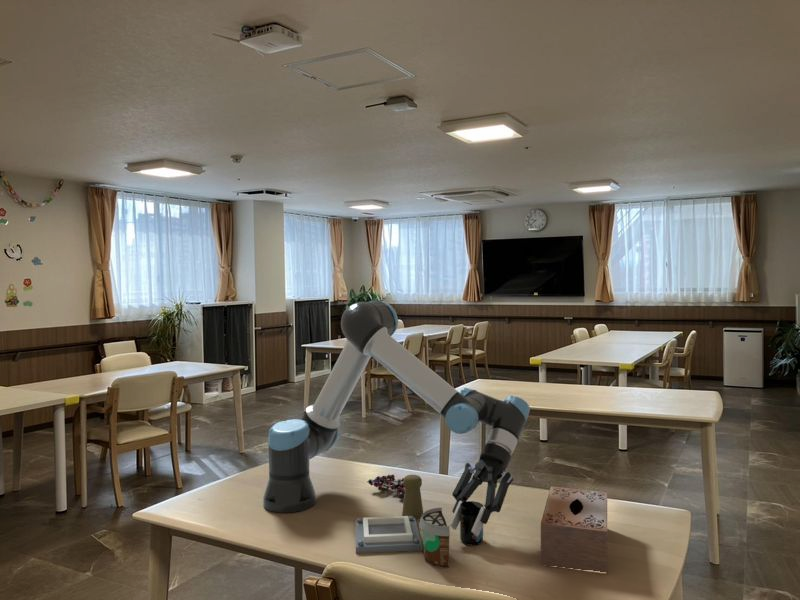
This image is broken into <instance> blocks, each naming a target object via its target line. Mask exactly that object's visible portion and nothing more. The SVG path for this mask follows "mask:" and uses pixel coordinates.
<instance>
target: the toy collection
mask: <svg viewBox="0 0 800 600" xmlns="http://www.w3.org/2000/svg"><path fill="white" fill-rule="evenodd" d="M404 478H405V477H403V478H399V479H396V476H395V474H387V475H382V476H381V475H378V476H376V477H375V478H374V479H369V480H368V481H366V483H368V485H371V486H374V487H375V488H377V489H378V491H381V490H383V491H387V492H388V491H392V492H396V493H397V497H396V498H397V499H400V500H402V499H404V495H405V487H404V484H403V480H404Z"/></svg>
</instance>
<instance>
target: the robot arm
mask: <svg viewBox="0 0 800 600" xmlns="http://www.w3.org/2000/svg"><path fill="white" fill-rule="evenodd" d="M398 325H399V318H398V313H397V311H396V309H395V308H394V307H393V306H392V305H391V304H390V303H388V302H386V301H383V300H377V299H376V300H375V299H374V300H370V301H361V302H355V303H353V304H351V305H349V306H348V307H347V308H346V309H345V310H344V312H343V313H342V316H341V320H340V328H341V332H342V334H343V336H344V338H345V339H346V343H345V345H344V346H343V348H342V350H341V352H340V354H339V356H338V358H337V360H336V362H335V363H334V365H333V368H332V370H331V371H330V373H329V375H328V378H327V379H326V381H325V383H324V385H323V387H322V388H321V390H320V393H319V395H318V396H317V398H316V400H315V402H314V404H311V405H308V406H307V407H306V408H305V411H304V412H303V414H302V416H301V417H300V418H301V419H297V418H296V419H294V418H293V419H287V420H282V421H279V422H276V423H275V424H273V425H272V426H271V427H270V428H269V431H268V438H267V444H268V481H267V484H266V487H265V492H264V495H263V503H262V504H263V508H264V509H266V510H267V511H270V512H273V513H283V514H285V513H287V514H288V513H297V512H301V511H305V510H307V509H310V508H312V507H313V506H315V504H316V501H317V495H316V491H315V488H314V484H313V482H312V480H311V476H310V460H312V459H313V458H315V457H317V456H318V455H319V456H320V454H323V453H326V452H327V451H328V450H330V449H331V448H332V447H333V446H334V445H335V444H336V443H337V440H338V437H339V428H340V425H341V420H340V415H341V414H342V411H343V409H344V408H345V407H346V404H347V402H348V400H349V399H350V397H351V395H352V393H353V391H354V389H355V388H356V386H357V383H358V382H359V380H360V378H361V376H362V374H363V373H364V371H365V368H366V367H367V365H368V363H369V361H370V359H371V358H373V359H374V360H375V361H377V362H378V363H379V364H380V365H382V366H383V368H385V369H387V371H388V372H389V373H391V374H392V375H393V376H395V378H397V379H398V380H399V381H400V382H402V383H403V384H404V385H405V386H406V387H407V388H408V389H410V390H412V392H414V393H415V394H416V395H418V397H420V398H421V399H422V400H423V401H424V402H425V403H427V404H428V405H429V406H430V407H432V408H433V409H434V410H435V411H437V412H438V413H439V414H440V415H441V416H442V417H443V418H444V419H445V423H446V425H447V427H448V429H449V430H450V431H451V432H452V433H455V434H456V435H457V434H459V435H464V434H467V433H469V432H471V431H472V430H473V429H475V428H476V427H477V425H479V424H480V423H482V424H485V425H487V426H490V427H492V428H491V430H490V432H489V433H488V437H487V439H486V441H485V444H484V445H483V448H482V450H481V452H480V453H479V454H480V455H479V460H478V461H477V462H475V463H474V464H470V462H467V463H465V464H464V470H463V472H462V475H461V476H460V478H459V480H458V482H457V484H456V486H455V488H454V490H453V491H452V494H451V495H452V497H453V498H454V499H455V501H456V502H455V504H454V506H453V508H452V513H453V514H452V516H451V519H450V521H449V523H448V524H449V525H448V526H449V527H451V528H452V529H453V530H455V531H456V530H457V529H458V526H459V525H460V504H461V503H463V502H467V501H469V498H471V496H472V495H473V494H474V493H475V491H476V490H477V488H478V487H479V486H481V485H482V484H483V483H487V488H486V494H485V495H486V496H485V502H484V504H483V507H481V509H480V511H479V514H478V516H477V518H476V521H475V523H474V525H473V528H472V530H471V532H472V533H473V534H474V535H475V536H476V537H478V536H479V534H480V531H481V529H482V527H483V528H484V525H487V524H488V521H489V520H490V516H491V515H492V513H494V512H496V513H500V512H501V509H502V507H503V504H504V502H505V498H506V496H507V493H508V489H509V486H510V485H511V483H513V481H514V477H513V476H512V474H511V472H507V471H506V469H507V468H508V466H509V463H510V460H511V458H512V455H513V453H514V451H515V449H516V446H517V443H518V441H519V440H520V437H521V435H522V433H523V430H524V428H525V426H526V423H527V420H528V417H529V414H530V411H531V408H530V405H529V403H528V402H527V401H525V400H524V399H523V398H521V397H519V396H513V395H509V396H506V397H505V399H504V400H501V399H498V398H494V397H493V396H490V395H487V394H485V393H482V392H480V391H478V390H476V389H472V388H468V387H463V388H461V390H460V391H458V390H457V389H455V388H454V387H453V385H451V384H450V383H448V381H446V380H445V379H443V378H442V377H441V376H440V375H439V374H437V373H436V372H435V371H434V370H432V369H431V368H430V367H429V366H428V365H426V364H425V363H424V362H423V361H422V360H421V359H419V358H418V357H417V356H415V355H414V354H413V353H412V352H411V351H409V350H408V349H407V348H406V347H405V346H403V344H401V343H400V342H398V341H397V340H396V339H395V338H393V334H395V332H396V331H397V330H398V329H397V328H398ZM500 479H501V480H500ZM499 480H500V482H499V486H498V481H499ZM496 489H497V490H496Z"/></svg>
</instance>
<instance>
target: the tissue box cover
mask: <svg viewBox="0 0 800 600" xmlns="http://www.w3.org/2000/svg"><path fill="white" fill-rule="evenodd" d="M548 491H549V492H548V496H547V499H546V503H545V506H544V510H543V513H542V518H541V521H540V566H543V565H546V567H550V566H557V567H565V568H573V569H581V570H593V571H600V572H607V573H608V491H598V490H590V489H578V488H569V487H560V486H550V489H549V490H548ZM557 567H556V568H557Z"/></svg>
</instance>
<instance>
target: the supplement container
mask: <svg viewBox="0 0 800 600" xmlns="http://www.w3.org/2000/svg"><path fill="white" fill-rule="evenodd" d="M481 507H484V504H483V503H481V502H478V501H475V500H473V501H471V500H470V501H469V500H467V501H466V502H463V503H461V504H460V522H459V539H460V542H461V543H463V544H465V545H467V546H479V545H481V544H482V543H483V541H484V526H483V527H482V529H481V531H480V534H479V536H478V537H476V536H475V535H474V534H473V533H472V532H471V530H472V528H473V525H474V523H475V521H476V518H477V516H478V514H479V511H480V509H481Z"/></svg>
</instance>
